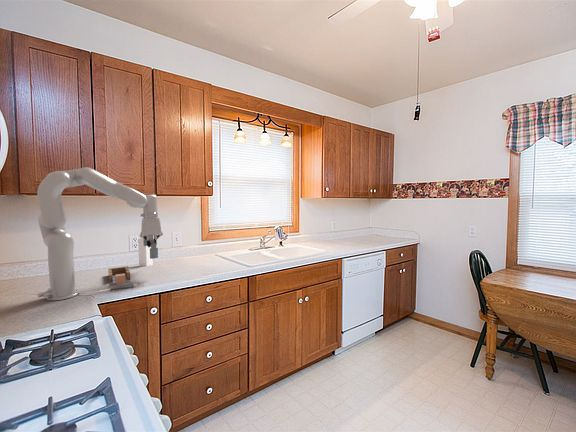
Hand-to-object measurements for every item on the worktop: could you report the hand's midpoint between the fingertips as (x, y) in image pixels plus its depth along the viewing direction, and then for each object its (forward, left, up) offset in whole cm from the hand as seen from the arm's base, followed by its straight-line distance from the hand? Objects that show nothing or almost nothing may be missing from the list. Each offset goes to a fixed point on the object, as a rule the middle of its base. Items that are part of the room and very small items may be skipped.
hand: (151, 246), depth 168 cm
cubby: (-16, +7, -18) cm, 25 cm away
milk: (+13, +28, -18) cm, 36 cm away
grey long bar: (+2, +4, -4) cm, 6 cm away
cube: (-18, +2, -17) cm, 25 cm away
